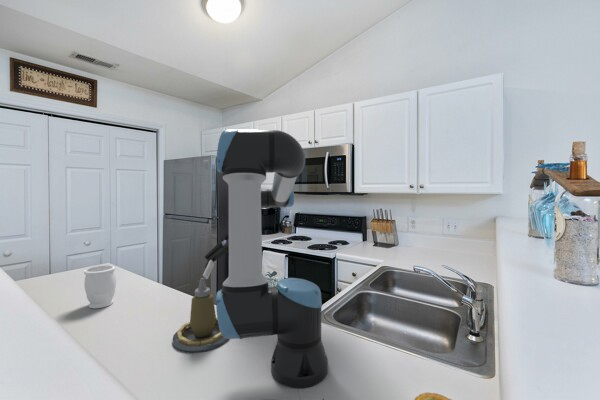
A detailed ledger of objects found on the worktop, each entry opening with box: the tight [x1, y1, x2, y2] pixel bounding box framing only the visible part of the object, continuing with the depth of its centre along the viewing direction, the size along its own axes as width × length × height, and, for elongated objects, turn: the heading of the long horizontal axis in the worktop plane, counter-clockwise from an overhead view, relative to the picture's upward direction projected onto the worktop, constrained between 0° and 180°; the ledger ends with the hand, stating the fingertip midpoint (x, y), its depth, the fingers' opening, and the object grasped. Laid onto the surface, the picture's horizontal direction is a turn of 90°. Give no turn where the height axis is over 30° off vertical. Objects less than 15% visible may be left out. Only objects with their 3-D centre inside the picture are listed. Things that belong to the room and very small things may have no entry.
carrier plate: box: [172, 317, 230, 354], centre depth 91 cm, size 18×18×2 cm
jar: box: [83, 264, 117, 310], centre depth 115 cm, size 11×10×15 cm
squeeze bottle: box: [189, 277, 217, 337], centre depth 91 cm, size 8×8×18 cm
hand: (221, 279), depth 102 cm, fingers open, 13 cm apart
